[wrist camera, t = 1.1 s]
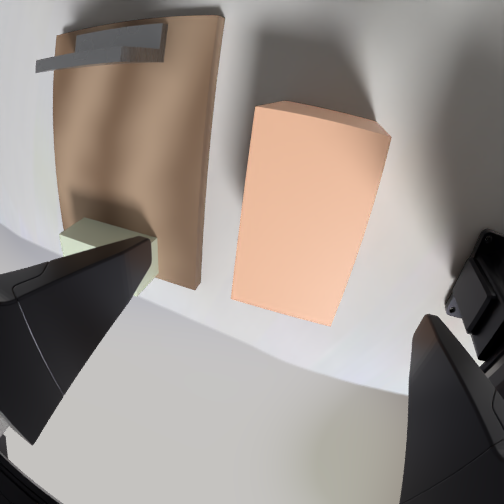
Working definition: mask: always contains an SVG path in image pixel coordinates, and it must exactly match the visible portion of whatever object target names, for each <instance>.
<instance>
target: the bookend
mask: <svg viewBox="0 0 504 504" xmlns="http://www.w3.org/2000/svg"><path fill="white" fill-rule="evenodd" d="M167 30H168V24H164V23H158V24H147V25H138V26H129V27H122V28H115V29H108V30H102V31H97V32H91V33H86V34H81V35H77V36H76V46H75V53H70V54H64V55H59V56H55V57H50V58H45V59H41V60H37V61H36V73H39V72H46V71H53V70H62V69H71V68H81V67H90V66H100V65H112V64H128V63H164V55H165V46H166V38H167Z"/></svg>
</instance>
